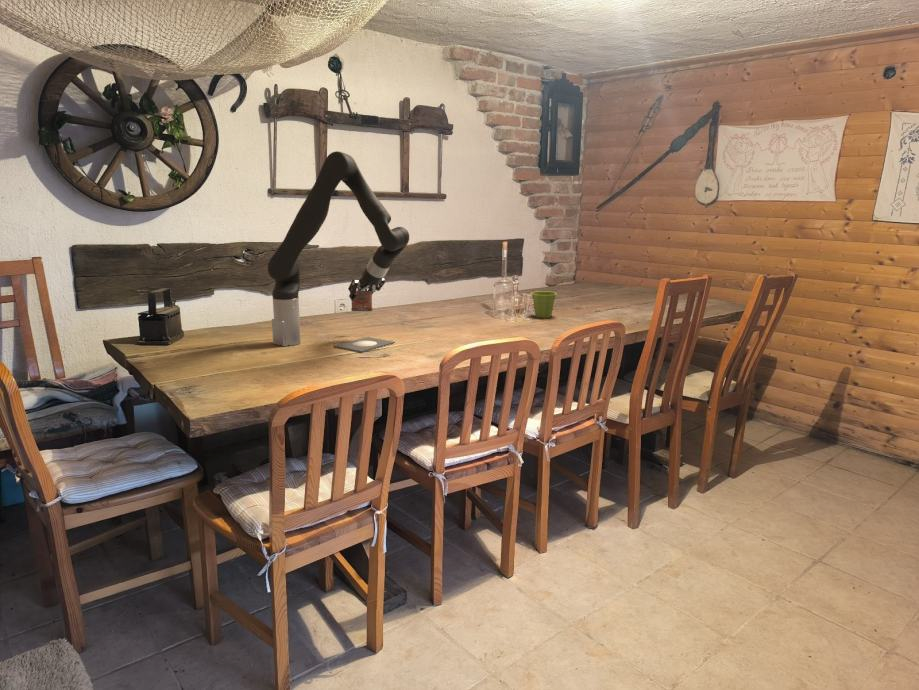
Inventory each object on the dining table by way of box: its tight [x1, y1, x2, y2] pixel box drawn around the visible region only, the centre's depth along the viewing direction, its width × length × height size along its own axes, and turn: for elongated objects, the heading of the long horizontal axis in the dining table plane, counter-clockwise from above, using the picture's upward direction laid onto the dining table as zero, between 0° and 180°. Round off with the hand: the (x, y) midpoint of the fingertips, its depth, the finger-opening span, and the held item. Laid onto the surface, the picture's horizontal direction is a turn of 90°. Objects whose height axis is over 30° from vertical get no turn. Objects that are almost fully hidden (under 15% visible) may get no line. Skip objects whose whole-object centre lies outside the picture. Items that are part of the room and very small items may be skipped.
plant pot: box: [530, 290, 558, 319], centre depth 288 cm, size 12×12×11 cm
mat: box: [333, 336, 396, 354], centre depth 233 cm, size 18×14×1 cm
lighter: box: [350, 285, 374, 312], centre depth 238 cm, size 8×3×10 cm, turn 94°
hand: (359, 297), depth 240 cm, fingers closed on lighter, 7 cm apart
